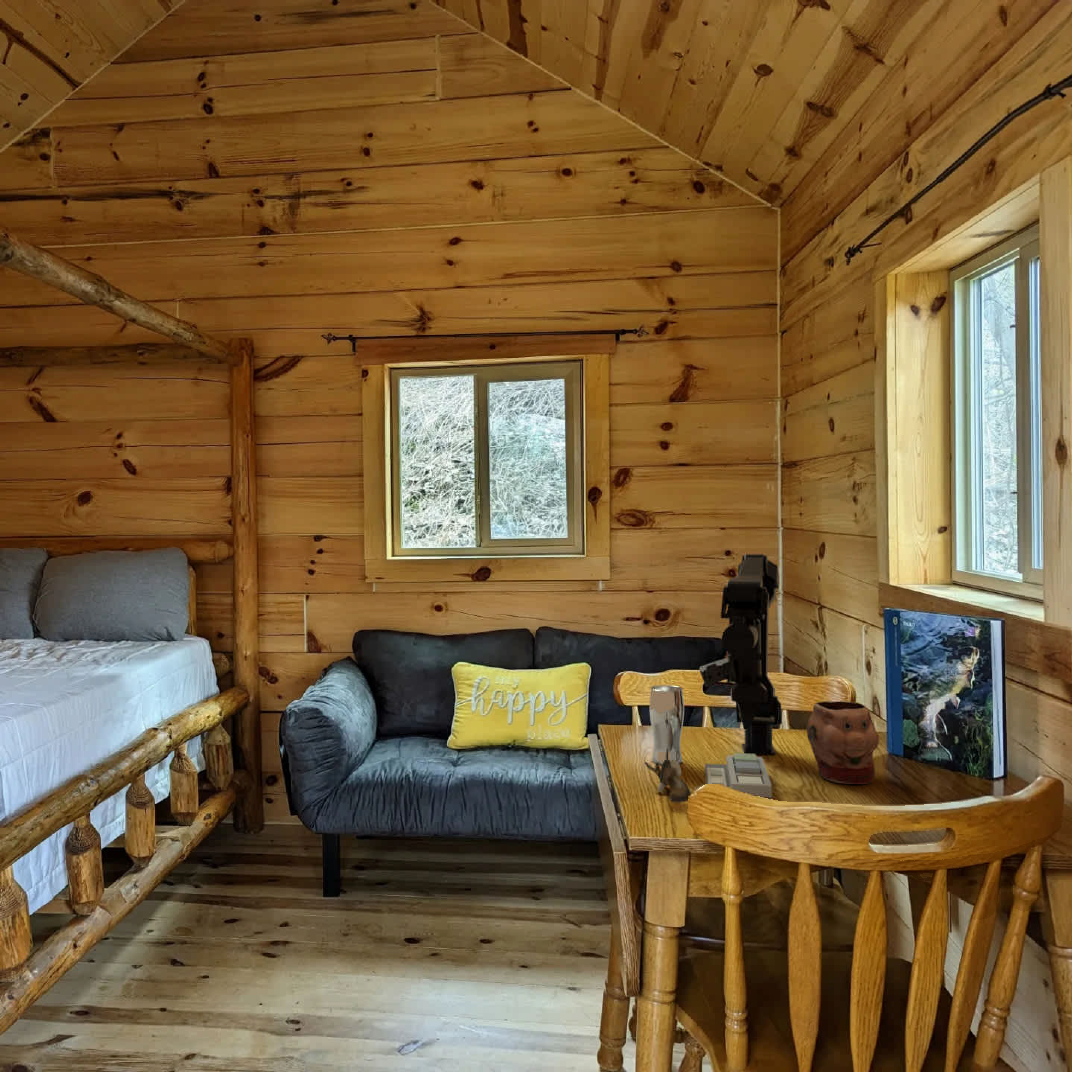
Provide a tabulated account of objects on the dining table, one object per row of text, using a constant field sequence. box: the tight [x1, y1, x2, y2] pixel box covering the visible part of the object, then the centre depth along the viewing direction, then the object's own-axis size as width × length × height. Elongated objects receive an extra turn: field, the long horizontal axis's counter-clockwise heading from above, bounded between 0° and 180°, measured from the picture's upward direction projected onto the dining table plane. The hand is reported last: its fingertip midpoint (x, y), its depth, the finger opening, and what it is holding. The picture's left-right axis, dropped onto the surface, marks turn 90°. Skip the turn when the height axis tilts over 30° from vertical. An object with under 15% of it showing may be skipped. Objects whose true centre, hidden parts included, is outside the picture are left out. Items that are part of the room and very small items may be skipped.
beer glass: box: [649, 684, 685, 766], centre depth 158 cm, size 7×7×15 cm
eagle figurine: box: [644, 759, 691, 803], centre depth 138 cm, size 8×7×9 cm
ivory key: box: [738, 776, 763, 784], centre depth 136 cm, size 4×4×2 cm
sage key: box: [733, 752, 757, 764], centre depth 147 cm, size 4×4×2 cm
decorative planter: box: [806, 700, 880, 785], centre depth 148 cm, size 20×12×14 cm, turn 3°
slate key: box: [736, 761, 760, 774], centre depth 142 cm, size 4×4×2 cm
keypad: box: [704, 755, 774, 800], centre depth 142 cm, size 19×11×3 cm, turn 169°
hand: (746, 728), depth 146 cm, fingers closed
